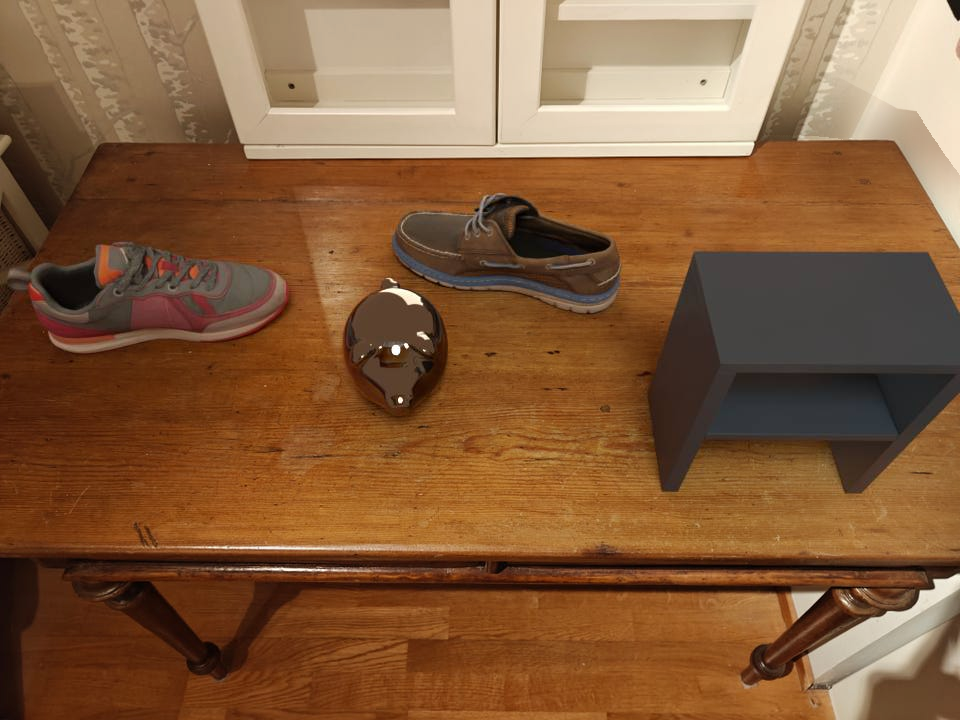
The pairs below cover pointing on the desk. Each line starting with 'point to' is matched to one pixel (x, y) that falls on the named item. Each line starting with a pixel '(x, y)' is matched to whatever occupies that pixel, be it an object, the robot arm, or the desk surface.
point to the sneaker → (148, 298)
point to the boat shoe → (512, 253)
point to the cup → (958, 49)
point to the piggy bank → (395, 347)
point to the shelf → (805, 356)
